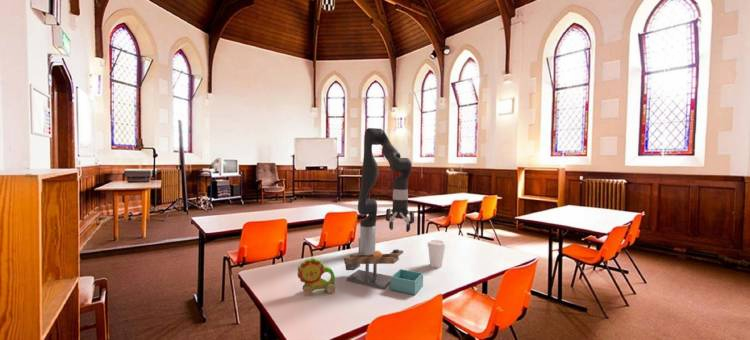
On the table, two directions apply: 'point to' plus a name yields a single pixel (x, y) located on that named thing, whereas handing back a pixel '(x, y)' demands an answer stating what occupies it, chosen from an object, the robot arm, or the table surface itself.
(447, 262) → the table surface
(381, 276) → the stand
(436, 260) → the foam cup
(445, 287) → the table surface
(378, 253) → the ball
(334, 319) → the table surface
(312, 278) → the toy lion
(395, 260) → the lever
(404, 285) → the teal storage bin
